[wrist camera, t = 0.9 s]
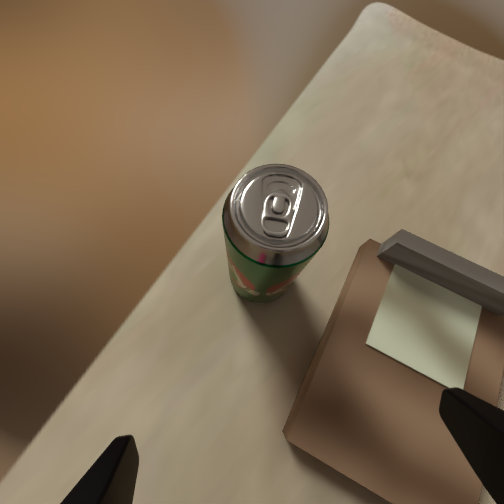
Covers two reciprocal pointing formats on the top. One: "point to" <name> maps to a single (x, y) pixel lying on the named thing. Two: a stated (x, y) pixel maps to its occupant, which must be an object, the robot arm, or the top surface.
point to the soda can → (272, 229)
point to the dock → (402, 370)
